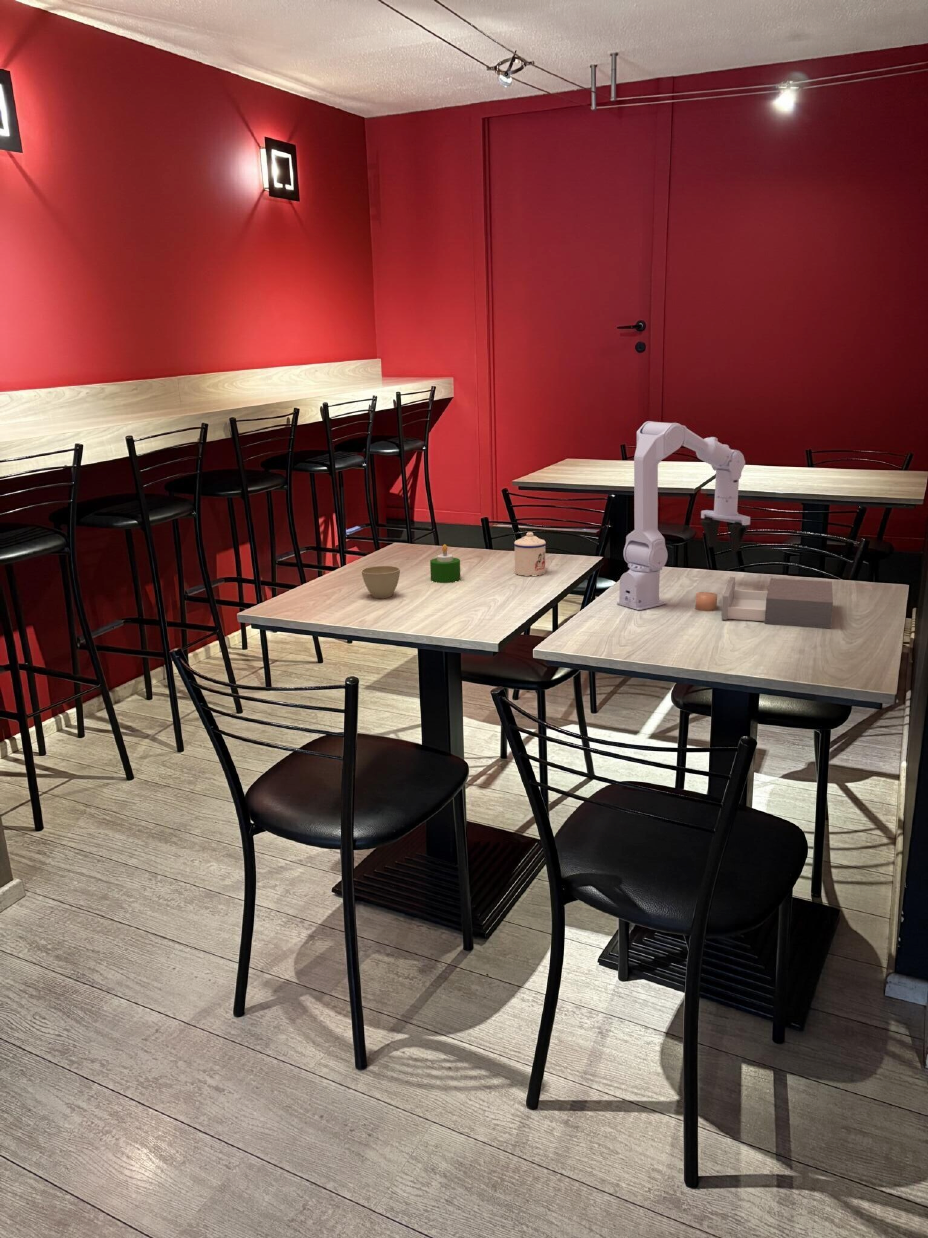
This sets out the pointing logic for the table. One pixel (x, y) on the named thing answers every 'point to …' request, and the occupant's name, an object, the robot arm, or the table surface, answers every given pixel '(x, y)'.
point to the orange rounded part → (706, 601)
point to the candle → (445, 568)
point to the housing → (799, 603)
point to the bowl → (381, 580)
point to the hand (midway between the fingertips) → (723, 548)
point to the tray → (743, 603)
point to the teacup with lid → (529, 555)
